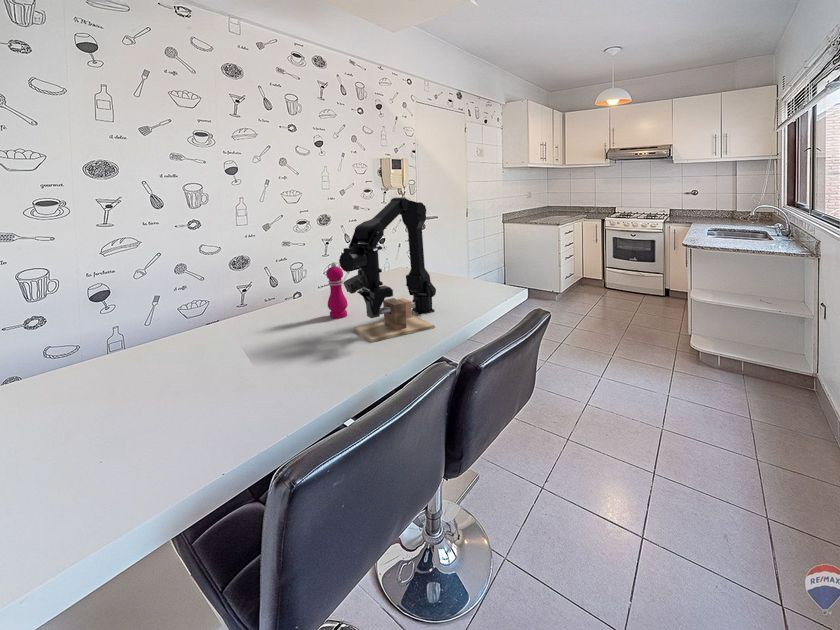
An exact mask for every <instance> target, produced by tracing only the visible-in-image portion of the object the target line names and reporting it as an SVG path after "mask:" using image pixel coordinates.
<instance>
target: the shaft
mask: <svg viewBox="0 0 840 630" xmlns="http://www.w3.org/2000/svg"><path fill="white" fill-rule="evenodd" d="M365 305H366V306H365V307H366V308H365V309H366V317H368V318H370V319H375V318H376V319H377V318H380V317H381V316H380V315H384V314H385V313H391V306H389V307H384V308H383V307H380V310H379V312H378V315H376V316H374V314H373V310H372V305H371V300H366V303H365ZM413 308H415V303H414V302H412V301H411V309H413Z"/></svg>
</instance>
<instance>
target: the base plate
mask: <svg viewBox="0 0 840 630" xmlns="http://www.w3.org/2000/svg"><path fill="white" fill-rule="evenodd" d="M431 328H432V329H435V328H436V325H435V324H434V323H431V322H430V321H427V320H425V319H422V318H421V317H418V316H416V315H414V314H413V315H412V317H410V318H406V328H404V329H399V330H394V329H392V328H391V327H389V326H387V325H385V323H384V321H383V320H382V321H378V322H374V323H368V324H364V325H360V326H359V325H358V326H355V327H353V331H354V332H356V333H357V334H358V335H360V336H362V337H363V338H364V339H366V340H367V341H369V342H370V343H374V342H379V341H384V340H387V339H392V338H393V339H394V338H395V337H400V336H406V335H409V334H414V333H418V332H423V331H427V329H428V330H430V329H431ZM432 329H431V330H432Z"/></svg>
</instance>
